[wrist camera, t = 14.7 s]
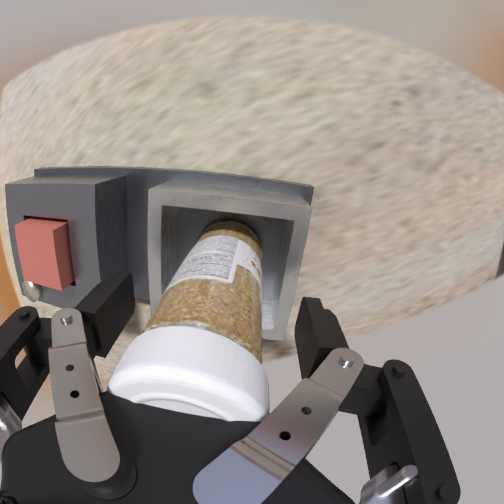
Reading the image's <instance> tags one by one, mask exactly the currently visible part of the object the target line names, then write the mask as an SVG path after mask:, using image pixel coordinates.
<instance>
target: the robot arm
mask: <svg viewBox="0 0 504 504" xmlns="http://www.w3.org/2000/svg"><path fill="white" fill-rule="evenodd" d="M134 309H135V296H134V285H133V276H132V274H130V273H124V272H118V271H117V272H115V273H114V274H113V275H112V276H111V277H110V278H109V279H108V280H104V281H102V282H100V283H98V284H97V285H96V286H95V287H94V288H93V289H92V291H90V292H89V293H88V295H86V296H85V297H84V298H83V299H82V300H81V301H80V303H79V304H78V305H77V306H76V307H75V308H74V309H73V308H65V309H62V310H59V311H57V312H56V313H55V314H54V315H53V316H52V318H39V315H38V312H37V309H36V308H34V307H31V306H25V307H21V308H19V309H17V310H16V311H15V312H14V313H13V314H12V315H11V316H10V317H9V318H8V319H7V320H6V321H5V322H4V323H3V324H2V325H1V326H0V463H1V464H2V480H1V488H0V504H355V503H354V502H353V500H352V499H351V498H349V497H348V496H347V495H346V494H345V493H344V492H342V491H341V490H340V489H339V488H338V487H336V486H335V485H334V484H333V483H331V481H329V480H328V479H327V478H326V477H325V476H324V475H323V474H322V473H321V472H319V471H318V470H317V469H316V468H315V467H314V466H313V465H312V464H311V463H309V461H308V460H306V456H307V455H308V454H309V452H310V451H311V450H312V449H313V447H314V446H315V444H316V443H317V441H318V440H319V439H320V437H321V436H322V434H323V433H324V432H325V430H326V429H327V427H328V426H329V424H330V423H331V422H332V420H333V419H334V417H335V416H336V414H337V412H338V411H342V412H347V413H351V414H356V415H357V416H358V420H359V425H360V430H361V435H362V439H363V444H364V449H365V454H366V459H367V464H368V470H369V475H370V480H369V481H368V482H367V483H366V484H365V485H364V486H363V488H362V490H361V499H360V502H359V504H457V503H458V501H459V499H460V486H459V483H458V480H457V477H456V473H455V470H454V467H453V464H452V461H451V459H450V456H449V453H448V450H447V448H446V445H445V443H444V440H443V437H442V435H441V433H440V430H439V427H438V425H437V423H436V420H435V418H434V415H433V413H432V411H431V409H430V406H429V404H428V402H427V400H426V398H425V395H424V393H423V391H422V389H421V387H420V384H419V382H418V380H417V379H416V376H415V374H414V372H413V370H412V369H411V367H410V366H409V365H408V364H406V363H404V362H402V361H399V360H388V361H387V362H385V364H384V365H383V367H382V368H379V367H375V366H370V365H366V364H364V361H363V359H362V357H361V356H360V355H359V354H358V353H357V352H355V351H353V350H351V349H349V347H348V344H347V342H346V339H345V337H344V334H343V332H342V331H341V327H340V325H339V322H338V320H337V317H336V316H335V315H334V314H333V313H332V312H331V311H330V310H328V309H324V308H323V306H322V303H321V300H320V299H319V298H311V297H303V299H302V301H301V305H300V309H299V313H298V317H297V321H296V325H295V342H296V347H297V353H298V359H299V364H300V370H301V376H302V381H301V382H300V383H299V384H298V385H297V387H295V389H294V390H293V391H292V392H291V393H290V394H289V395H288V396H287V397H286V398H285V399H284V400H283V401H282V402H281V403H280V404H279V405H278V406H277V408H276V409H274V410H273V411H272V412H271V413H270V414H269V415H268V416H267V417H266V418H265V419H264V420H263V421H259V422H255V421H226V420H223V419H220V418H212V417H206V416H200V415H194V414H188V413H183V412H177V411H173V410H168V409H163V408H159V407H155V406H151V405H146V404H142V403H133V402H132V401H130V400H128V399H125V398H122V397H119V396H116V395H113V394H111V393H109V392H108V391H106V392H103V389H102V386H101V383H100V380H99V376H98V373H97V369H96V366H95V362H94V358H95V356H96V355H97V356H100V357H104V358H106V356H107V354H108V353H109V351H110V349H111V348H112V346H113V344H114V343H115V341H116V340H117V338H118V336H119V335H120V333H121V332H122V330H123V329H124V327H125V325H126V324H127V322H128V321H129V319H130V318H131V316H132V315H133V312H134ZM22 348H24V350H25V353H26V356H25V358H24V359H23V360H22V362H21V363H20V365H19V366H18V367H17V369H16V367H15V358H16V356H17V355H18V353H19V352H20V351H21V350H22ZM49 373H50V378H51V386H52V394H53V401H54V407H55V413H56V414H55V415H53V416H51V417H49V418H46V419H44V420H42V421H40V422H37V423H35V424H33V425H31V426H28V427H26V428H23V429H22V423H21V422H22V419H23V418H24V416H25V414H26V412H27V410H28V409H29V406H30V405H31V403H32V401H33V400H34V398H35V396H36V394H37V392H38V391H39V389H40V387H41V386H42V384H43V382H44V381H45V379H46V377H47V376H48V374H49Z"/></svg>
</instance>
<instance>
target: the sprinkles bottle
mask: <svg viewBox="0 0 504 504" xmlns="http://www.w3.org/2000/svg"><path fill="white" fill-rule="evenodd" d="M261 261H262V247H261V243H260V241H259V239H258V237H257V235H256V234H255V233H254V232H253V231H252V230H251V229H250V228H249V227H247V226H245V225H244V224H242V223H239V222H235V221H231V220H227V221H219V222H216V223H213V224H211V225H210V226H208V227H206V228H205V229H204V231H203V232H202V233H201V234H200V236H199V237H198V240H197V242H196V245H195V246H194V247H193V248H192V249H191V251H190V252H189V254H188V255H187V257H186V258H185V260H184V261H183V263H182V264H181V266H180V267H179V269H178V270H177V272H176V274H175V275H174V277H173V278H172V280H171V282H170V283H169V285H168V286H167V288H166V290H165V291H164V293H163V295H162V296H161V298H160V300H159V303H158V306H157V308H156V310H155V311H154V313H153V314H152V316H151V318H150V320H149V322H148V323H147V325H146V327H145V329H144V331H143V332H142V333H141V334H140V335H138V337H136V338H135V339H134V340H133V341H132V342H131V343H130V344H129V346H128V347H127V349H126V350H125V352H124V354H123V356H122V357H121V359H120V361H119V363H118V364H117V366H116V368H115V370H114V373H113V375H112V377H111V379H110V381H109V383H108V387H107V391H108V392H109V393H111V394H113V395H116V396H119V397H122V398H125V399H128V400H130V401H132V402H133V403H142V404H146V405H151V406H155V407H159V408H163V409H168V410H173V411H177V412H183V413H188V414H194V415H200V416H206V417H212V418H220V419H223V420H226V421H255V422H259V421H263V420H264V419H265V418H266V417H267V416H268V415H269V385H268V379H267V376H266V373H265V371H264V369H263V367H262V318H263V297H262V296H263V294H262V267H261Z"/></svg>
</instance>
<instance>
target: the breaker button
mask: <svg viewBox="0 0 504 504" xmlns="http://www.w3.org/2000/svg"><path fill="white" fill-rule="evenodd" d="M14 226H15V234H16V241H17V247H18V253H19V258H20V263H21V268H22V273H23V277H24V280H25V281H29V282H32V283H35V284H39V285H42V286H46V287H49V288H53V289H57V290H60V291H63V290H64V289H65V288H66V287H67V286H68V285H69V284H71V283H72V282H73V281H74V280H75V276H74V270H73V263H72V256H71V248H70V239H69V228H68V220H67V219H57V218H47V217H36V216H33V217H31V218H29V219H27V220H24V221H22V222H20V223H18V224H16V225H14Z"/></svg>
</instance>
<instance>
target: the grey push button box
mask: <svg viewBox="0 0 504 504" xmlns="http://www.w3.org/2000/svg"><path fill="white" fill-rule="evenodd" d="M313 189H314V187H313V186H311V185H306V184H300V183H294V182H287V181H281V180H274V179H267V178H259V177H251V176H243V175H234V174H225V173H215V172H205V171H193V170H180V169H165V168H145V167H108V166H82V167H48V168H39V169H34V176H33V177H29V178H25V179H22V180H18V181H14V182H11V183H8V184H5V192H6V207H7V217H8V226H9V233H10V240H11V246H12V252H13V257H14V262H15V267H16V271H17V276H18V280H19V284H20V288H21V292H22V295H24V296H26V297H27V298H28V299H29V300H30V301H32V302H36V301H37V300H38V301H41V302H44V303H48V304H51V305H54V306H57V307H60V308H64V309H65V308H73V309H74V308H75V307H76V306H77V305H78V304H79V303H80V301H81V300H82V299H83V298H84V297H85V296H86V295H88V293H89V292H90V291H92V289H93V288H94V287H95V286H96V285H97V284H98V283H100V282H102V281H104V280H108V279H109V278H110V277H111V276H112V275H113V274H114V273H115V272H117V271H118V272H124V273H130V274H132V276H133V285H134V296H135V298H136V299H141V300H147V301H150V308H151V316H152V314H153V313H154V311H155V310H156V308H157V306H158V303H159V300H160V298H161V296H162V295H163V293H164V291H165V290H166V288H167V286H168V285H169V283H170V282H171V280H172V278H173V277H174V275H175V274H176V272H177V270H178V269H179V267H180V266H181V264H182V263H183V261H184V260H185V258H186V257H187V255H188V254H189V252H190V251H191V249H192V248H193V247H194V246H195V245H196V242H197V240H198V237H199V236H200V234H201V233H202V232H203V231H204V229H205V228H206V227H208V226H210V225H211V224H213V223H216V222H219V221H227V220H231V221H235V222H239V223H242V224H244V225H245V226H247V227H249V228H250V229H251V230H252V231H253V232H254V233H255V234H256V235H257V237H258V239H259V241H260V243H261V247H262V261H261V267H262V294H263V296H262V297H263V318H262V339H269V340H281V341H283V339H284V336H285V332H286V328H287V323H288V319H289V315H290V311H291V307H292V303H293V298H294V294H295V290H296V285H297V281H298V276H299V272H300V267H301V262H302V258H303V253H304V248H305V243H306V238H307V233H308V228H309V223H310V217H311V212H312V207H311V201H312V195H313ZM33 216H36V217H47V218H57V219H67V220H68V228H69V239H70V248H71V256H72V263H73V270H74V276H75V280H74V281H73V282H72V283H71V284H69V285H68V286H67V287H66V288H65V289H64V290H63V291H60V290H57V289H53V288H49V287H46V286H42V285H39V284H35V283H32V282H29V281H25V280H24V277H23V273H22V268H21V263H20V258H19V253H18V247H17V241H16V234H15V226H14V225H16V224H18V223H20V222H22V221H24V220H27V219H29V218H31V217H33Z"/></svg>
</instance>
